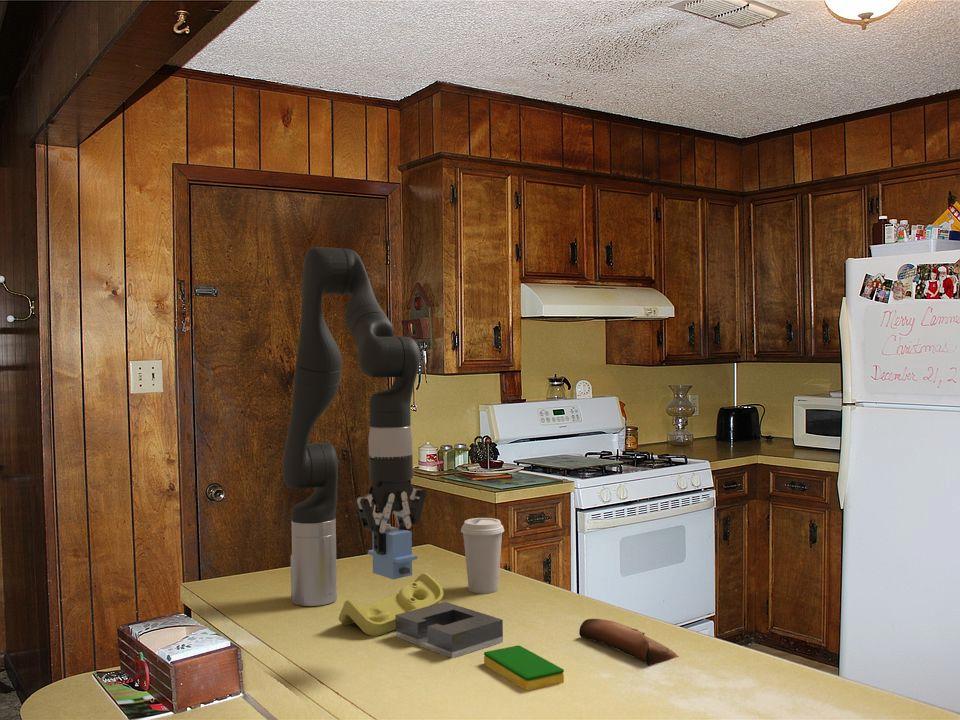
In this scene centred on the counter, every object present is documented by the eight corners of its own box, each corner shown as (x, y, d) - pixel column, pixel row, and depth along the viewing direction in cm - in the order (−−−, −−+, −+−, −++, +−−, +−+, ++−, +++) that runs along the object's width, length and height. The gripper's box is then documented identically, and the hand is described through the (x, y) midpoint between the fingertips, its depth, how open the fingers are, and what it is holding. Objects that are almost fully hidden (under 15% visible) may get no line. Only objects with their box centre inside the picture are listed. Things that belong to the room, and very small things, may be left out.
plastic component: (373, 627, 160) (342, 594, 167) (365, 658, 163) (335, 625, 169) (453, 596, 174) (421, 567, 180) (444, 625, 177) (413, 596, 183)
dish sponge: (519, 658, 151) (519, 644, 151) (565, 684, 139) (565, 669, 139) (483, 665, 147) (483, 651, 147) (526, 693, 135) (526, 677, 135)
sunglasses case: (683, 656, 149) (668, 626, 147) (658, 684, 146) (642, 654, 144) (613, 628, 164) (599, 601, 163) (588, 654, 161) (573, 626, 159)
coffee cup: (478, 581, 200) (477, 515, 199) (513, 587, 194) (512, 519, 194) (452, 591, 192) (451, 522, 192) (488, 597, 186) (487, 527, 186)
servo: (398, 581, 147) (397, 531, 147) (368, 571, 154) (367, 523, 153) (417, 576, 149) (416, 528, 149) (386, 567, 156) (386, 520, 156)
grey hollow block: (395, 636, 162) (395, 615, 162) (445, 622, 170) (445, 601, 170) (452, 658, 150) (451, 634, 150) (502, 641, 158) (502, 619, 158)
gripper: (410, 447, 159) (412, 542, 159) (343, 454, 149) (344, 555, 150) (436, 450, 153) (437, 549, 153) (368, 458, 144) (369, 562, 144)
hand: (391, 551), depth 151 cm, fingers closed on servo, 4 cm apart
